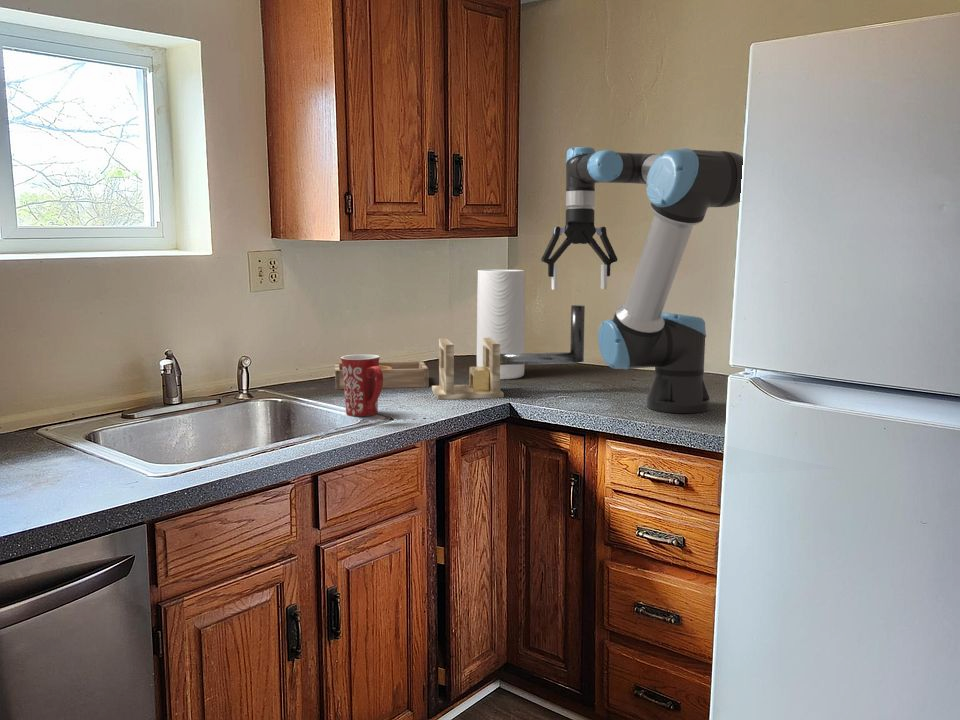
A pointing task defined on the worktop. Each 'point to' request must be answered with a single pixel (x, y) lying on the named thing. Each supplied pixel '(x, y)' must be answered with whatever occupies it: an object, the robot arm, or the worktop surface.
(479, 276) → the paper towel roll
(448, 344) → the jig
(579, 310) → the shaft
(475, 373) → the block
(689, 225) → the robot arm
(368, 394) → the mug
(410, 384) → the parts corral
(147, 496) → the worktop surface
